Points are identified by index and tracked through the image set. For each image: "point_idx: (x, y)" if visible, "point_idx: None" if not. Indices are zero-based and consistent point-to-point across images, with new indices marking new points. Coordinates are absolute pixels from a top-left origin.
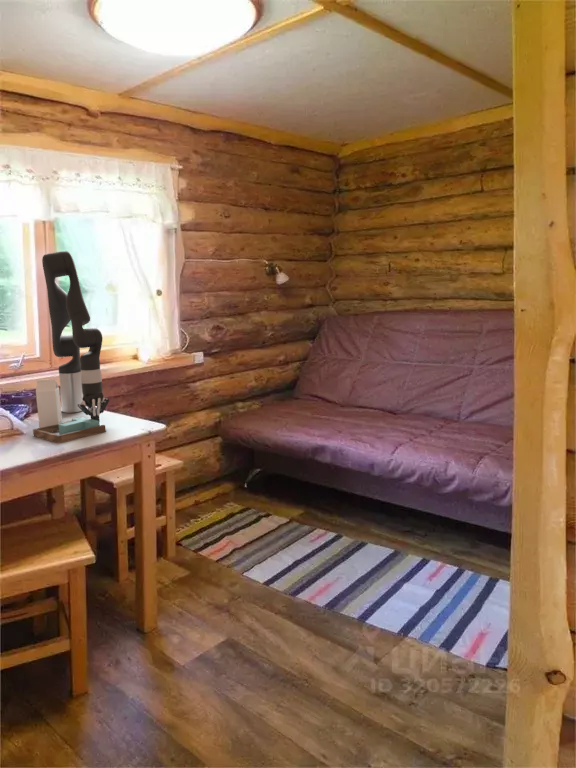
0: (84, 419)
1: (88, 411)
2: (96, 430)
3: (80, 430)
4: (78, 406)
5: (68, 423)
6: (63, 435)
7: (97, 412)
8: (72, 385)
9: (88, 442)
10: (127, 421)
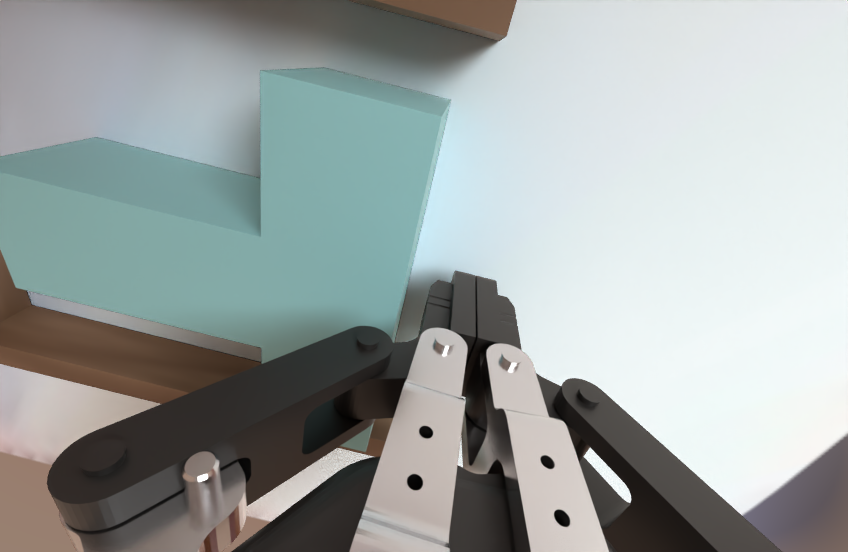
0: (339, 287)
1: (311, 443)
2: None
3: (161, 393)
4: (101, 441)
5: (94, 246)
6: (5, 360)
7: (471, 438)
8: None
9: None
10: (772, 391)
